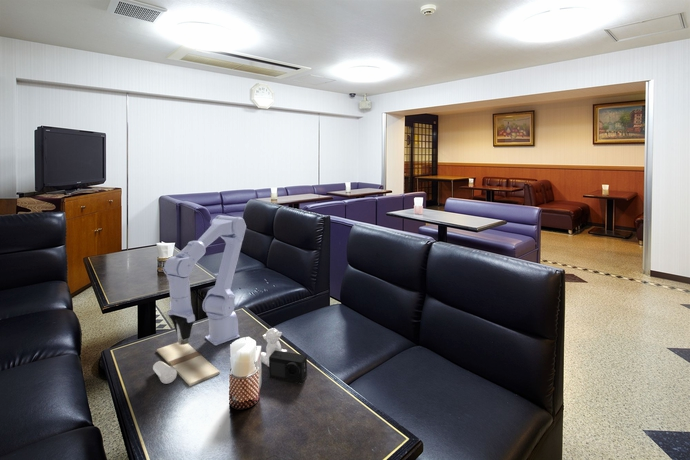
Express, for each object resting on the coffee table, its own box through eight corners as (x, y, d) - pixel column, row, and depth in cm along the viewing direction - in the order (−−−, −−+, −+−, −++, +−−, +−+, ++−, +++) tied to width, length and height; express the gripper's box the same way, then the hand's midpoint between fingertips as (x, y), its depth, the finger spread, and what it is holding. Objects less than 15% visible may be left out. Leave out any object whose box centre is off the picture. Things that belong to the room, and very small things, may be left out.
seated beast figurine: (286, 353, 126) (286, 319, 123) (291, 367, 118) (290, 331, 115) (257, 357, 123) (256, 323, 120) (260, 372, 115) (259, 335, 112)
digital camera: (267, 380, 111) (266, 358, 109) (275, 370, 116) (274, 349, 114) (300, 386, 108) (300, 364, 107) (306, 376, 113) (306, 354, 112)
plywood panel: (184, 342, 131) (183, 339, 131) (219, 373, 113) (219, 370, 113) (156, 351, 125) (156, 348, 125) (189, 386, 107) (189, 383, 107)
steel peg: (187, 338, 121) (185, 318, 119) (190, 342, 119) (189, 321, 117) (176, 341, 119) (174, 321, 117) (180, 345, 116) (178, 324, 115)
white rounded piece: (171, 360, 116) (184, 371, 109) (158, 376, 114) (171, 388, 107) (160, 353, 114) (172, 364, 107) (147, 369, 112) (159, 381, 105)
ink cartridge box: (258, 400, 102) (256, 351, 99) (239, 401, 101) (237, 351, 98) (262, 381, 110) (261, 335, 107) (245, 382, 110) (243, 335, 106)
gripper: (157, 292, 118) (161, 332, 120) (176, 305, 108) (179, 349, 110) (180, 286, 123) (183, 325, 125) (200, 299, 113) (203, 341, 115)
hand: (183, 336), depth 118 cm, fingers closed on steel peg, 3 cm apart
